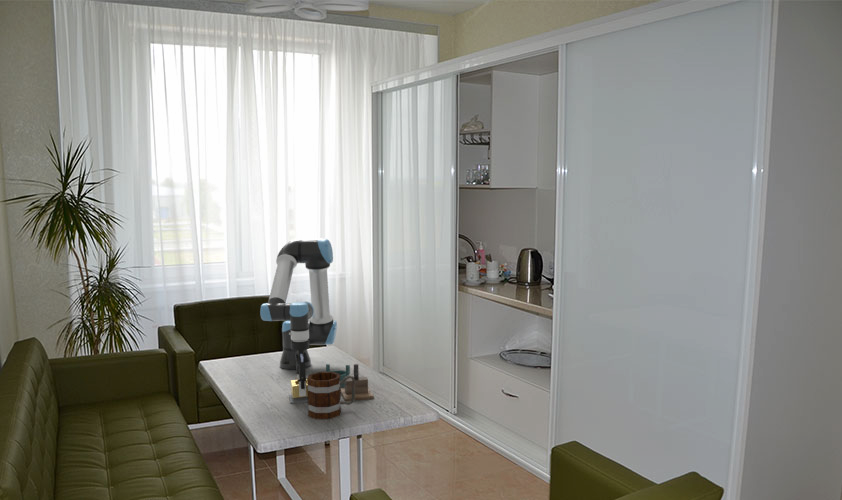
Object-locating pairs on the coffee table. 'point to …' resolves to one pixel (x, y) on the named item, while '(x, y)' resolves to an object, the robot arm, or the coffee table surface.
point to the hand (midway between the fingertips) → (301, 392)
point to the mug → (326, 394)
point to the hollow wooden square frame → (297, 388)
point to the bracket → (340, 372)
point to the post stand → (357, 387)
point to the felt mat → (298, 399)
